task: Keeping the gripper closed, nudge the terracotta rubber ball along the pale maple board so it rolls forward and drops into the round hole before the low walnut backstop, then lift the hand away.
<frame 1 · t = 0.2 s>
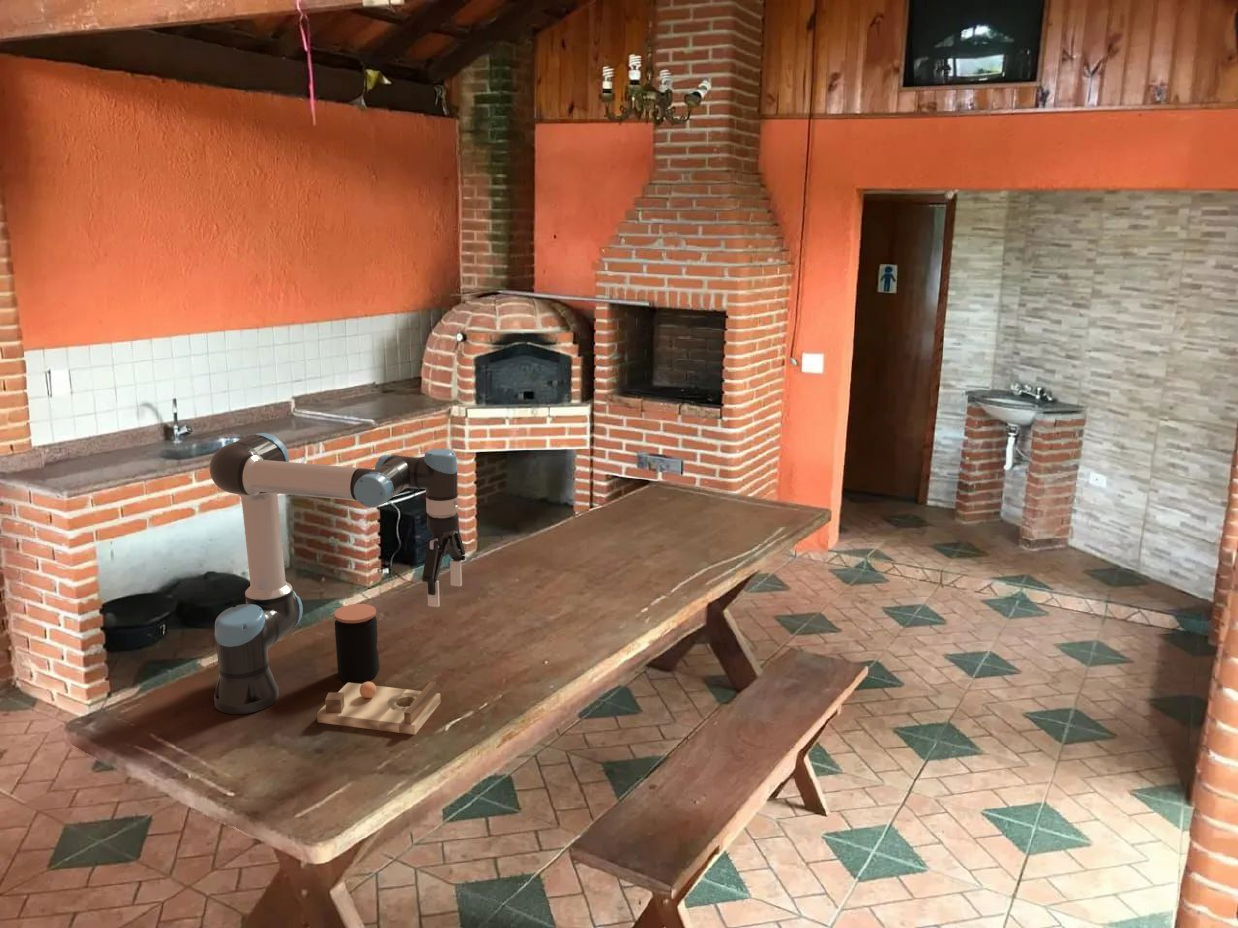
hand: (445, 595, 249), 28 cm above the table, fingers open, 13 cm apart
ball: (367, 690, 250), point 4 cm above the table, touching board
coffee jar: (359, 675, 267), on the table
walnut cube: (335, 709, 244), point 2 cm above the table, touching board
board: (380, 712, 248), on the table
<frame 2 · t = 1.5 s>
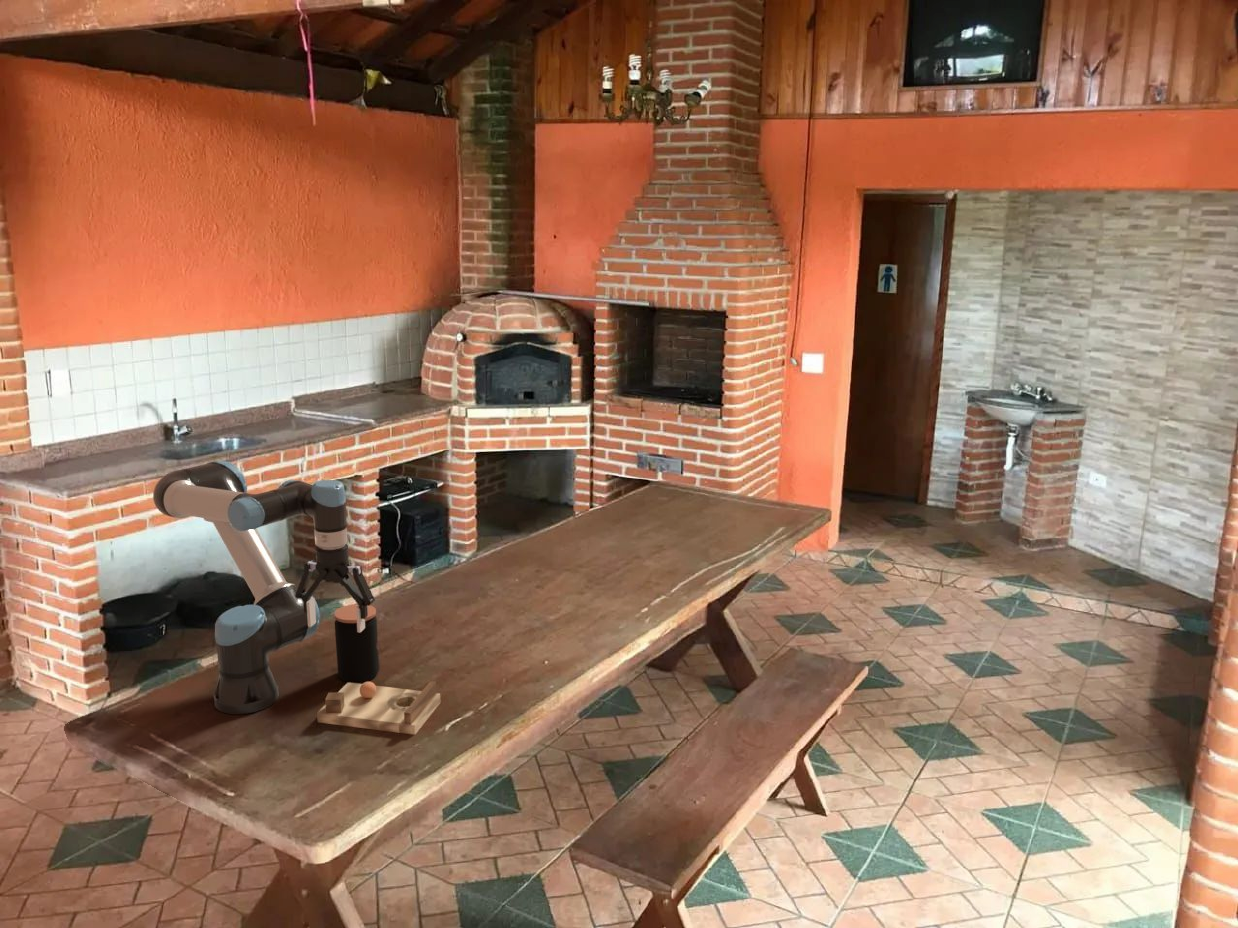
hand: (336, 627, 247), 20 cm above the table, fingers open, 12 cm apart
nothing on the table moved.
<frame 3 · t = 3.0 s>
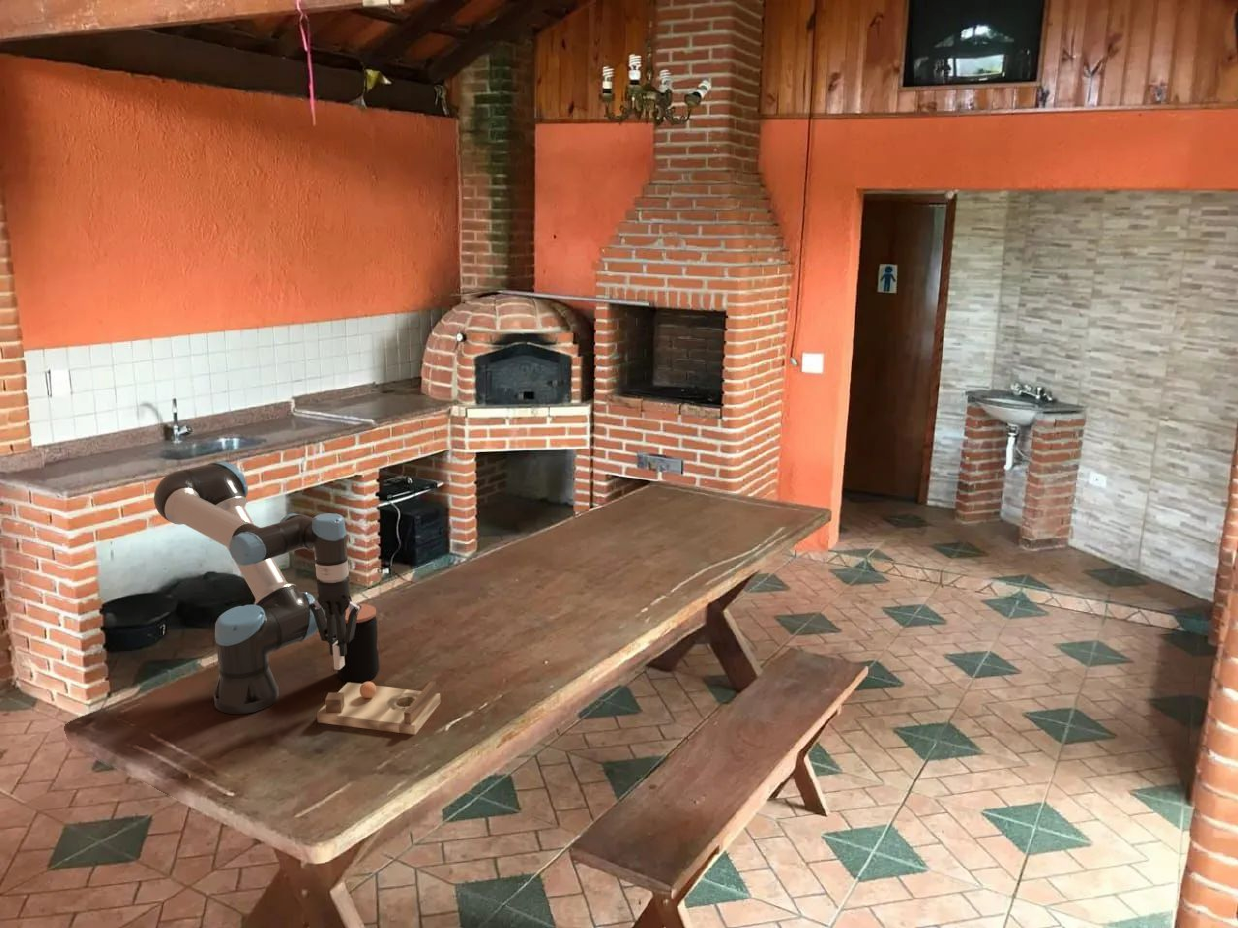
hand: (339, 667, 250), 10 cm above the table, fingers closed
nothing on the table moved.
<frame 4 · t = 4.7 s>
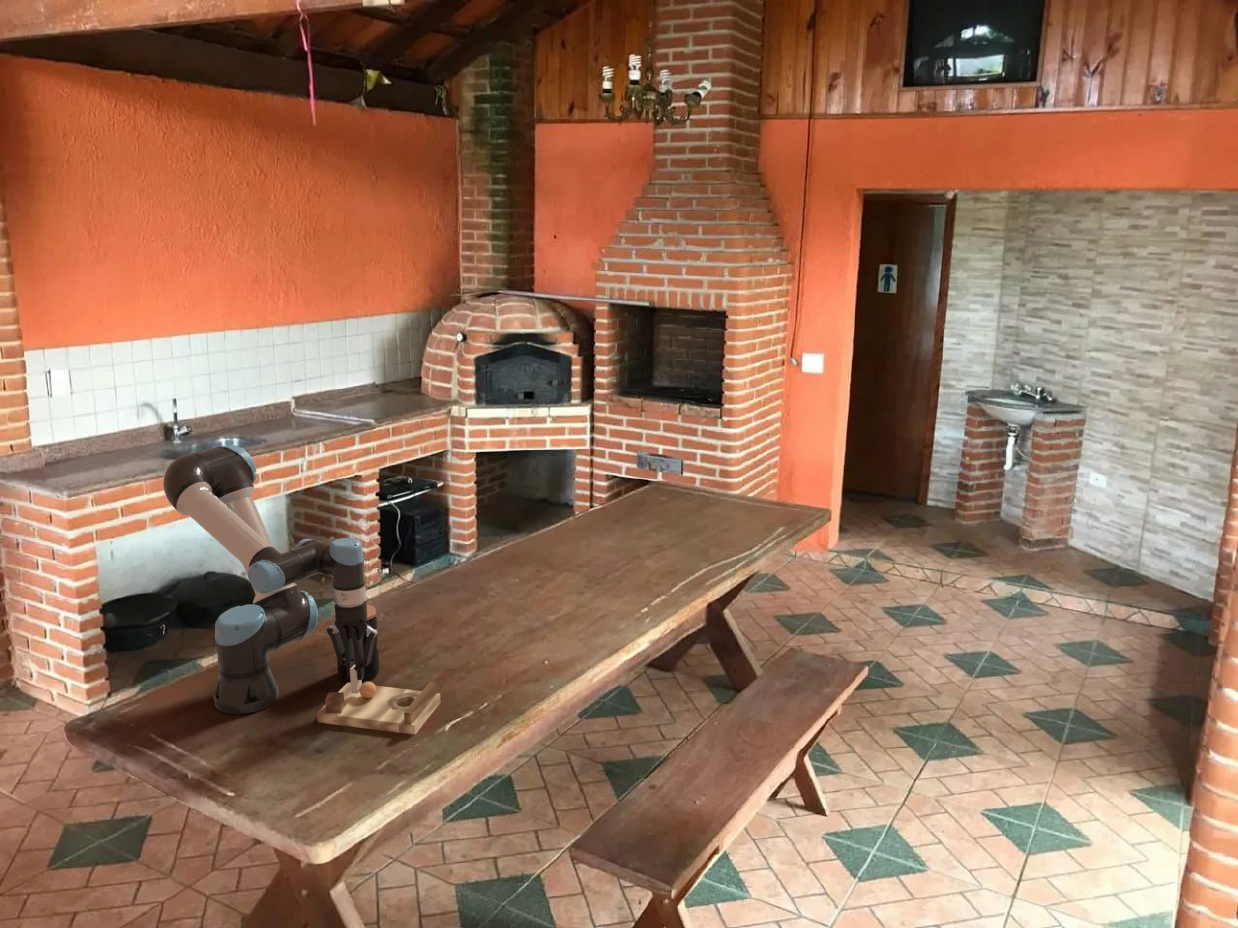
hand: (356, 690, 250), 4 cm above the table, fingers closed
nothing on the table moved.
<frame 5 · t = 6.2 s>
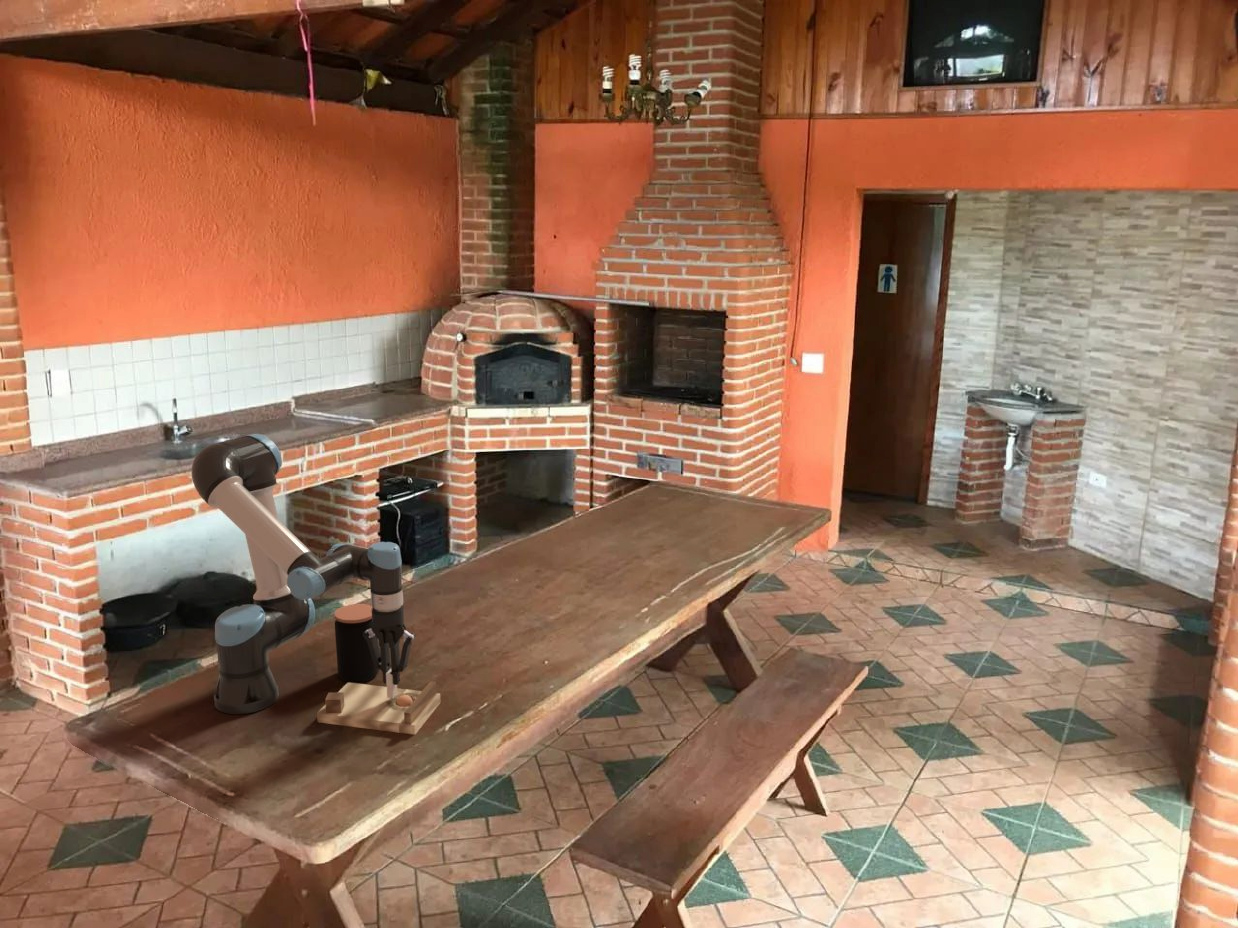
hand: (392, 695, 249), 4 cm above the table, fingers closed
ball: (404, 703, 249), point 2 cm above the table, tilted 57°
everything else where it was.
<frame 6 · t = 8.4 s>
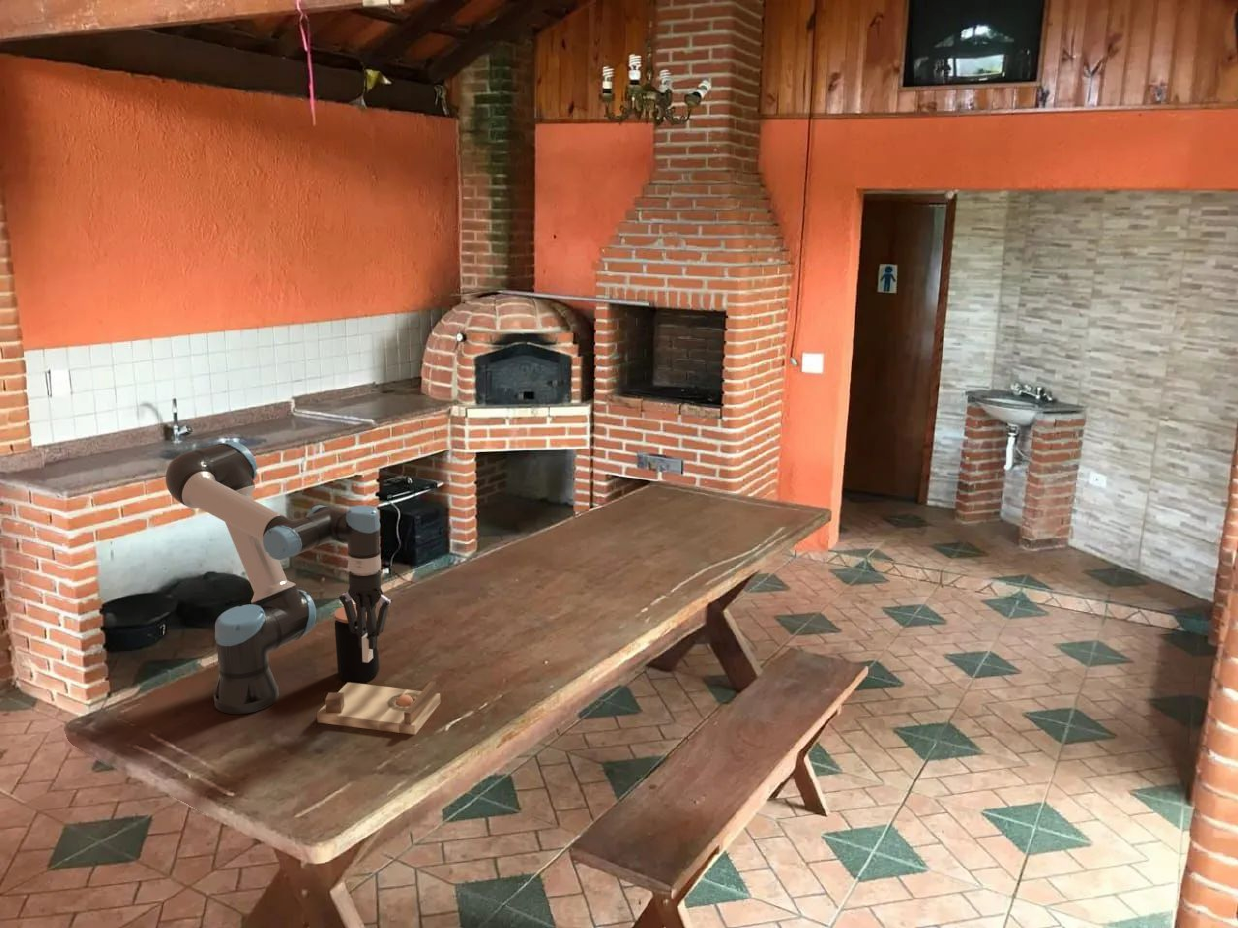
hand: (367, 659, 248), 13 cm above the table, fingers closed
nothing on the table moved.
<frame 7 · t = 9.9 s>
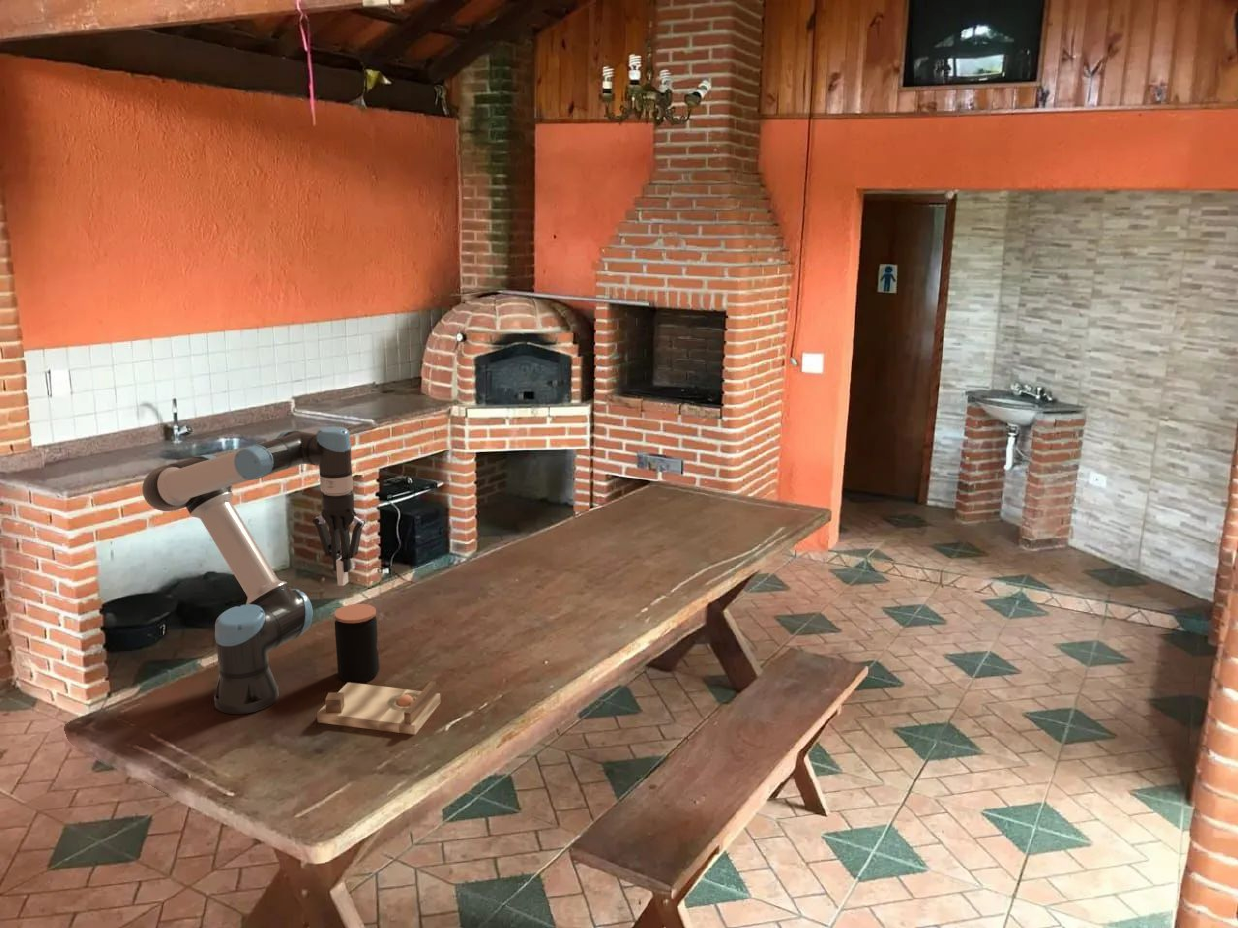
hand: (343, 583, 248), 30 cm above the table, fingers closed
nothing on the table moved.
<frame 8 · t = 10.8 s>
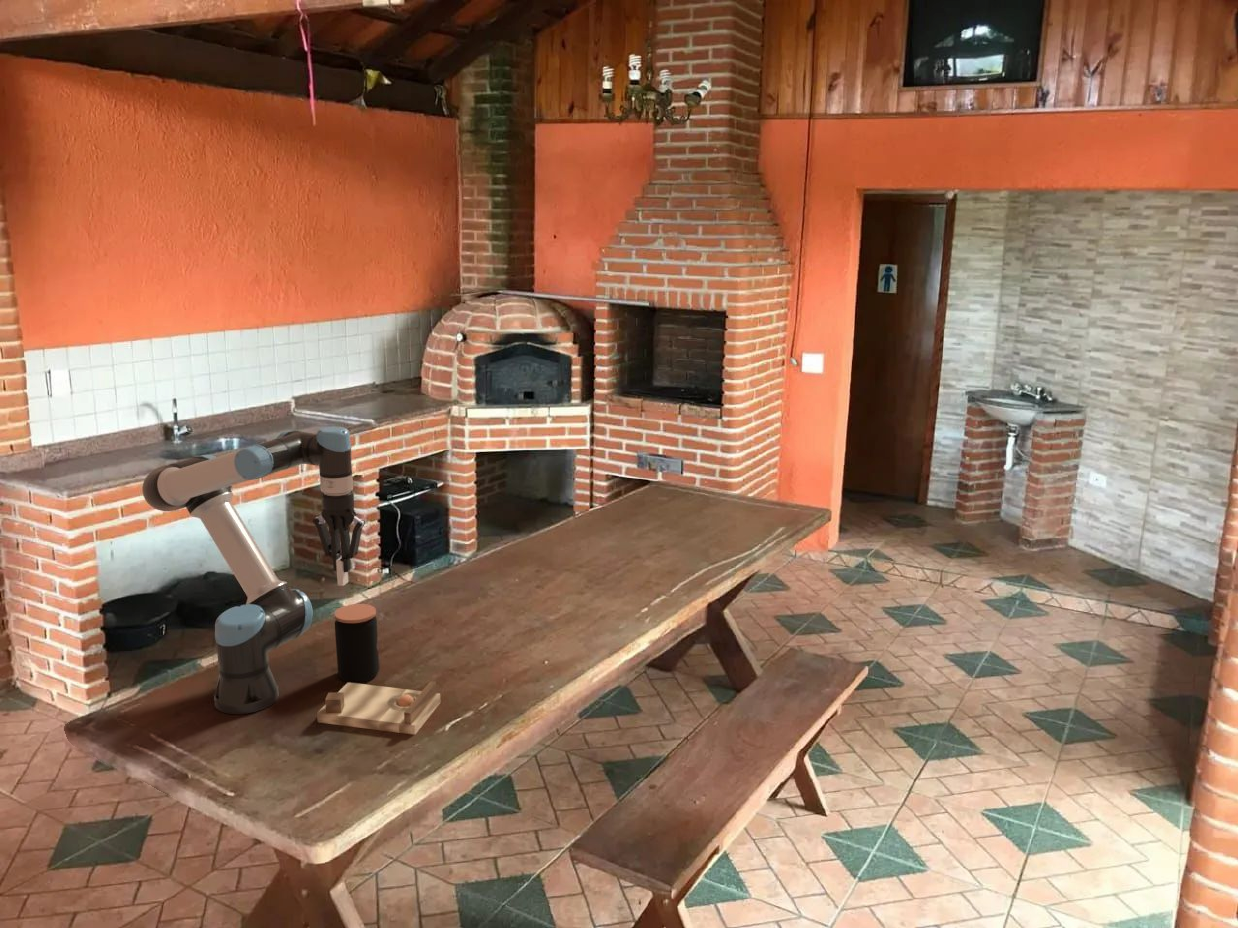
hand: (343, 583, 248), 30 cm above the table, fingers closed
nothing on the table moved.
at the end: ball 0.4 cm from the target spot in the board, point 2.0 cm above the board's base; walnut cube moved 0.0 cm from its start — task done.
